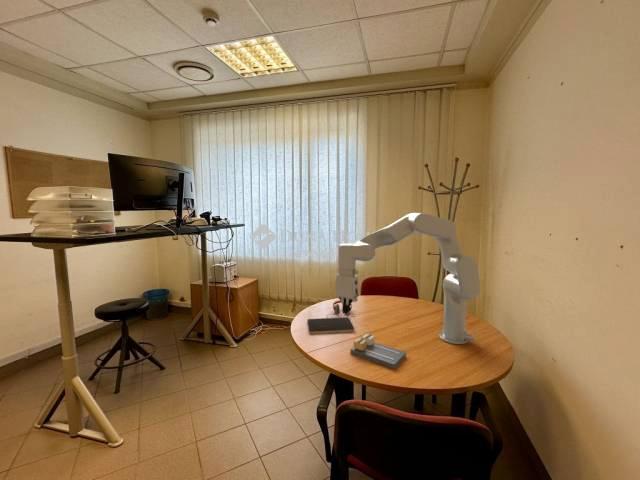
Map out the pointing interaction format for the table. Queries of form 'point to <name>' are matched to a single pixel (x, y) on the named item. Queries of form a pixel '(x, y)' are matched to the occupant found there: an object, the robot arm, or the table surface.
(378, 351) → the mixer console
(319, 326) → the hardcover book
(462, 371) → the table surface
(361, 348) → the amber fader
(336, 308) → the headphones
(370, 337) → the white fader
